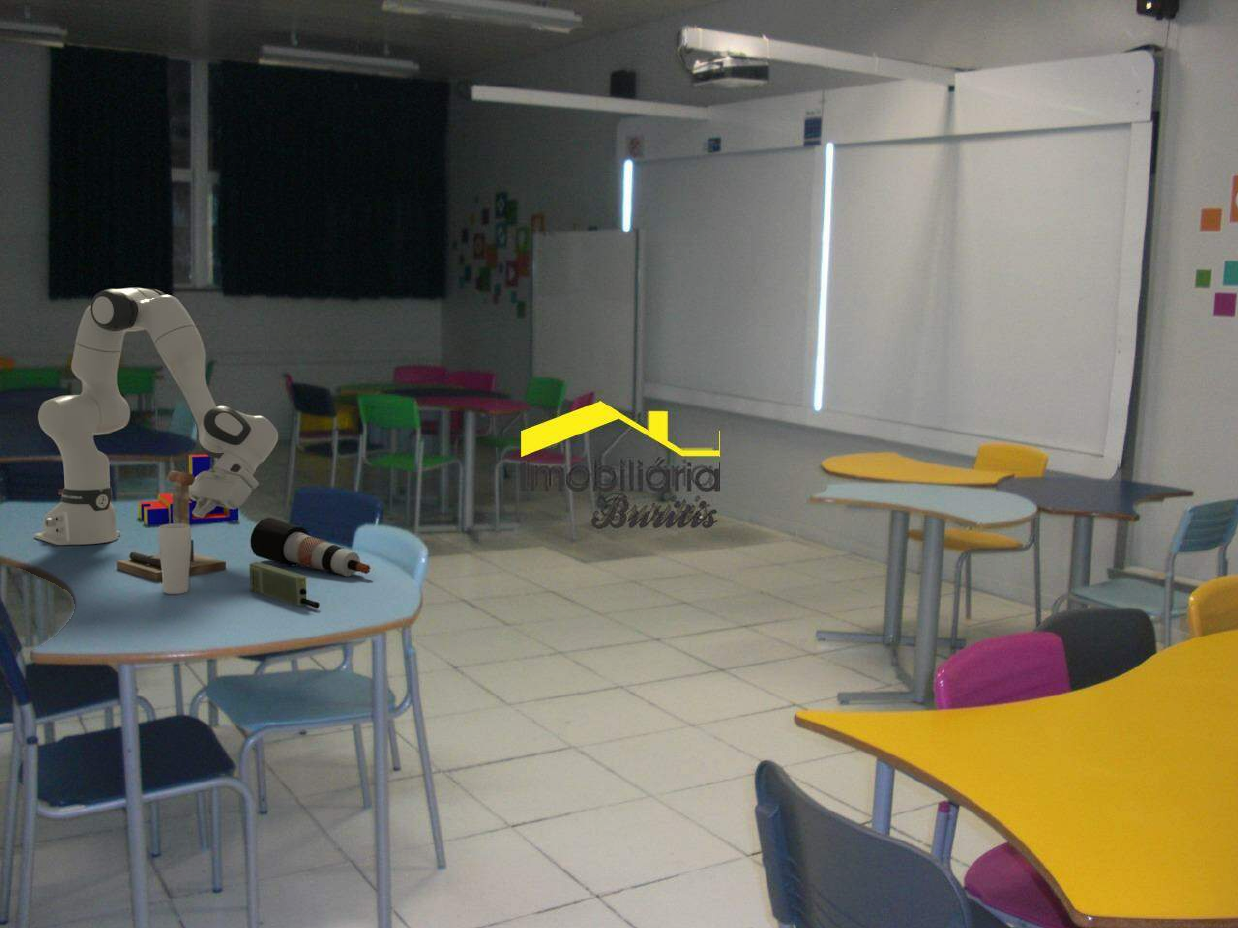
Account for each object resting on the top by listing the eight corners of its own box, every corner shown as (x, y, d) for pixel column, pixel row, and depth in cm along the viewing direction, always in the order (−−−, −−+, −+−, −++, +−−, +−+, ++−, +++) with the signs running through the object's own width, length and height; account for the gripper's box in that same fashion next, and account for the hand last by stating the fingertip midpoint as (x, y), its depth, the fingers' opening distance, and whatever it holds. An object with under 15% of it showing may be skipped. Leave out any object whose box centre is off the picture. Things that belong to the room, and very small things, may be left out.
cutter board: (185, 558, 303) (184, 530, 302) (226, 569, 291) (225, 541, 290) (117, 568, 289) (116, 540, 288) (156, 581, 277) (156, 551, 277)
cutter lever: (180, 552, 295) (178, 470, 293) (196, 556, 291) (194, 473, 288) (168, 554, 293) (166, 471, 290) (183, 558, 288) (182, 474, 286)
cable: (358, 598, 285) (348, 565, 279) (257, 564, 302) (245, 532, 296) (386, 573, 292) (376, 540, 286) (285, 541, 308) (274, 509, 303)
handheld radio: (261, 589, 274) (324, 609, 257) (248, 592, 271) (311, 613, 255) (260, 560, 273) (323, 579, 256) (247, 563, 270) (310, 582, 254)
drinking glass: (153, 594, 265) (152, 527, 263) (169, 587, 272) (167, 522, 270) (182, 596, 264) (181, 529, 262) (197, 589, 271) (196, 524, 269)
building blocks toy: (137, 517, 359) (135, 456, 356) (223, 511, 371) (222, 452, 369) (148, 527, 343) (147, 464, 340) (238, 521, 355) (237, 460, 353)
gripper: (200, 460, 305) (165, 502, 298) (247, 468, 292) (211, 513, 286) (216, 475, 309) (182, 517, 302) (263, 485, 296) (228, 529, 290)
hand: (196, 515), depth 294 cm, fingers closed
